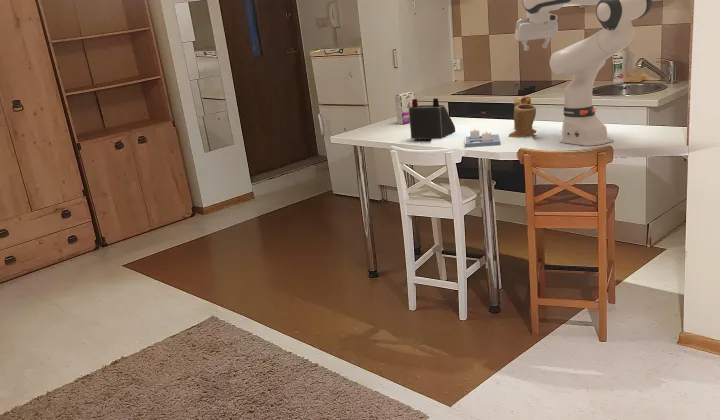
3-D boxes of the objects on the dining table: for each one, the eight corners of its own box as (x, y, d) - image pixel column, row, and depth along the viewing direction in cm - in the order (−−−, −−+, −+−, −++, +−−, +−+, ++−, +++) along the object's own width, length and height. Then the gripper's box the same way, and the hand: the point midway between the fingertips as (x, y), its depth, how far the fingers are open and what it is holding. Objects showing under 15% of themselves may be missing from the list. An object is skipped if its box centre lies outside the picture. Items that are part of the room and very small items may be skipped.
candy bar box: (410, 120, 376) (408, 91, 371) (417, 121, 372) (414, 92, 367) (396, 124, 369) (394, 94, 364) (403, 124, 365) (400, 95, 360)
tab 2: (491, 142, 288) (491, 130, 286) (491, 143, 285) (491, 131, 284) (482, 142, 289) (481, 131, 287) (482, 144, 286) (481, 132, 284)
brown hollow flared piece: (530, 141, 291) (529, 107, 287) (505, 140, 298) (504, 107, 294) (543, 134, 302) (542, 101, 298) (519, 133, 309) (518, 101, 305)
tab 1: (479, 139, 296) (479, 128, 295) (479, 140, 293) (479, 129, 292) (470, 140, 297) (470, 128, 296) (470, 141, 294) (470, 130, 293)
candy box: (521, 130, 316) (520, 98, 312) (514, 129, 319) (513, 98, 315) (532, 126, 322) (531, 95, 317) (524, 126, 325) (523, 95, 320)
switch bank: (498, 140, 298) (498, 133, 297) (500, 148, 283) (500, 141, 282) (465, 143, 300) (464, 136, 299) (465, 150, 285) (464, 143, 284)
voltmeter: (455, 134, 323) (453, 93, 317) (442, 141, 309) (439, 99, 304) (425, 134, 331) (422, 94, 325) (411, 141, 318) (408, 99, 312)
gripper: (520, 20, 283) (519, 52, 288) (560, 15, 289) (559, 47, 294) (512, 18, 289) (511, 51, 294) (552, 14, 294) (550, 46, 300)
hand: (535, 49), depth 294 cm, fingers open, 8 cm apart
